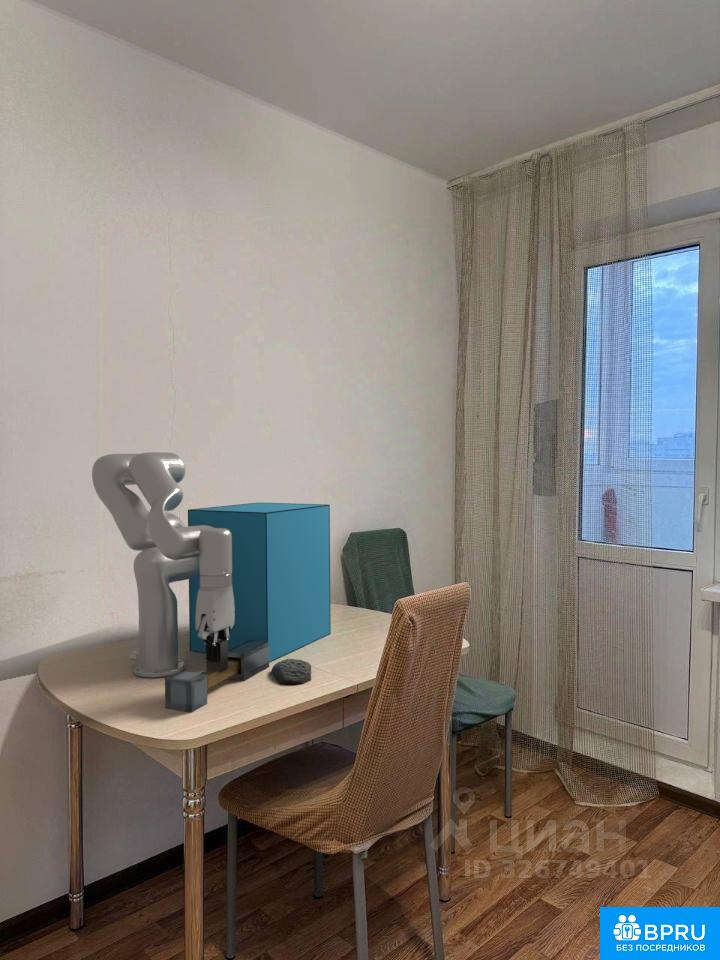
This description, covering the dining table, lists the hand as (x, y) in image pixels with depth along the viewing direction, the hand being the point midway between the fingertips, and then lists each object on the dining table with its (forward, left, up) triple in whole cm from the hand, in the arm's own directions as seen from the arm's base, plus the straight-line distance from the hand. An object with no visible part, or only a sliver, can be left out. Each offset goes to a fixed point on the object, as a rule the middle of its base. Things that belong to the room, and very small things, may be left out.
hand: (217, 658), depth 158 cm
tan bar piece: (0, +4, -5) cm, 7 cm away
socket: (0, -12, -7) cm, 14 cm away
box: (-11, +39, -8) cm, 41 cm away
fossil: (+11, +14, -8) cm, 20 cm away
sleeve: (0, +13, -7) cm, 15 cm away
